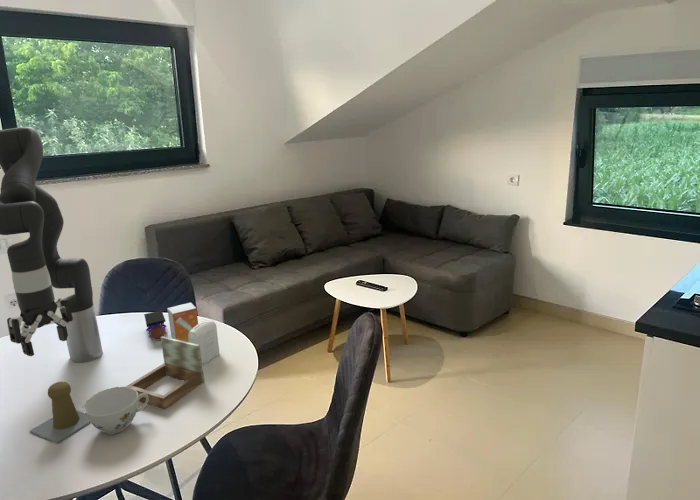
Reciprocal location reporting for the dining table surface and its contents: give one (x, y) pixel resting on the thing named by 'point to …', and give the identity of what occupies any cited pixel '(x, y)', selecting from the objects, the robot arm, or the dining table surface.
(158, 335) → the figurine character
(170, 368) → the cold frame
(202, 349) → the photo printer
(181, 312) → the small box
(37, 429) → the mat
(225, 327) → the dining table surface
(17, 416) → the dining table surface
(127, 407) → the teacup
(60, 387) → the cork
